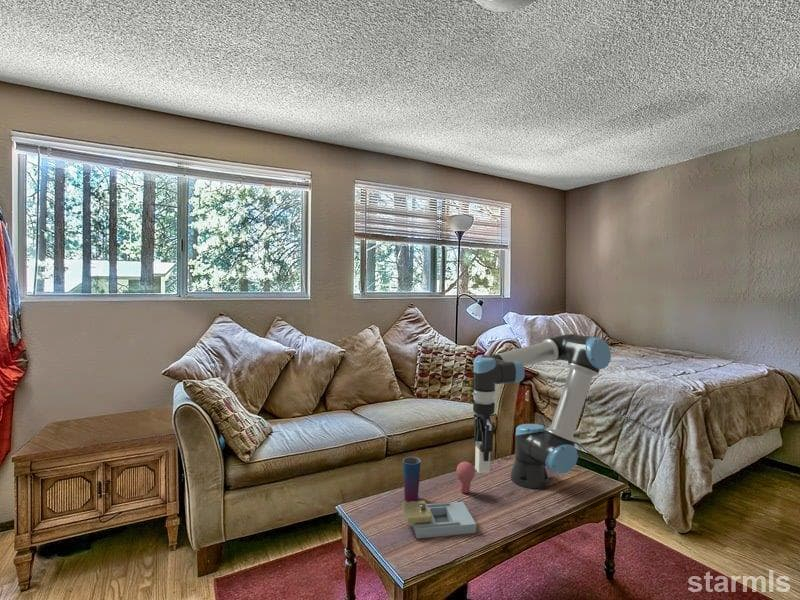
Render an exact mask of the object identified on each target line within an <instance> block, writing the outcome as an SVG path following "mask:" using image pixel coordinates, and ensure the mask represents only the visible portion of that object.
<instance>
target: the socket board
mask: <svg viewBox="0 0 800 600" xmlns="http://www.w3.org/2000/svg"><path fill="white" fill-rule="evenodd" d="M426 505H427V507H428V509H429V512H430V514H431V516H432V517H431V523H429V524H418V525H412V529H413V531H414V534H415V535H414V536H415V537H416V539H425V538H437V537H445V536H459V535H469V534H476V533H477V523H476V520H475V519H474V517H473V516H472V514H471V513H470V511H469V509H468V508H467V506H466V505H465V503H464V501H456V502H455V501H454V502H449V501H447V502H436V503H434V502H432V503H426Z"/></svg>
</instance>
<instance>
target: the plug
mask: <svg viewBox="0 0 800 600" xmlns="http://www.w3.org/2000/svg"><path fill="white" fill-rule="evenodd" d="M474 450H475V453H474V454H475V456H474V458H475V459H474V463H475V464H474V469H475V471H477V473H478V474H489V473H491V472H490V471H491V452H489V469H485V470H481V451H480V450H482V441H475V449H474Z"/></svg>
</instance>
